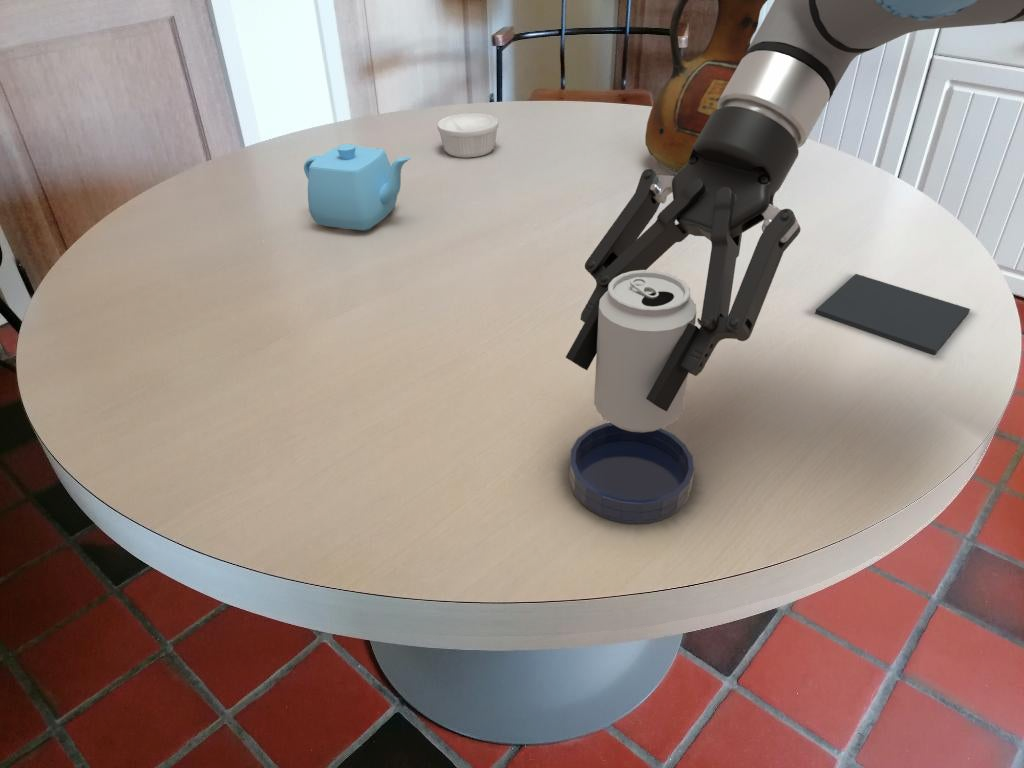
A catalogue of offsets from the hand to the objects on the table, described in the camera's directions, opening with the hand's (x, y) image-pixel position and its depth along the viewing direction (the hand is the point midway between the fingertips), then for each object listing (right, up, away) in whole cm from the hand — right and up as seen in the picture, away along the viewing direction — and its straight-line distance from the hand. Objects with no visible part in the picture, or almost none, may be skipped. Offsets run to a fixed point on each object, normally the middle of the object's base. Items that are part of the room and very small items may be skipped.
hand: (615, 383), depth 60 cm
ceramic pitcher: (+25, +38, +74) cm, 87 cm away
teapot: (-31, +26, +58) cm, 71 cm away
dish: (+3, -9, +10) cm, 13 cm away
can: (+3, -2, +5) cm, 6 cm away
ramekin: (-16, +44, +83) cm, 95 cm away
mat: (+38, +9, +32) cm, 51 cm away
